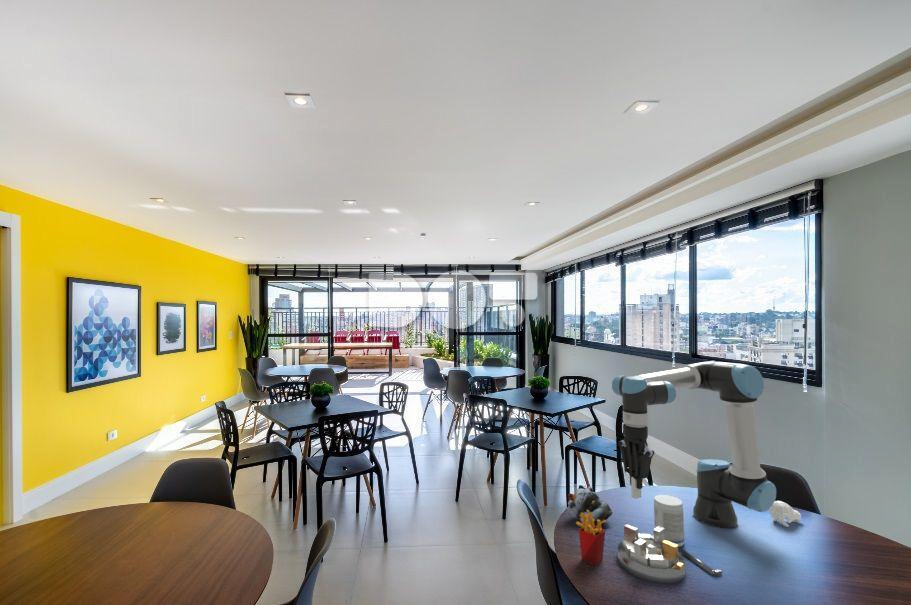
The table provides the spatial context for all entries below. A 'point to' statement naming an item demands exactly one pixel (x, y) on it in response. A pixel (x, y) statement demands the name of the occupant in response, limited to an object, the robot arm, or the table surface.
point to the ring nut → (638, 548)
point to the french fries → (591, 539)
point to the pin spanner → (702, 564)
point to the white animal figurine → (784, 513)
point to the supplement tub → (670, 518)
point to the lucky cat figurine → (588, 504)
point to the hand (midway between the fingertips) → (636, 497)
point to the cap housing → (646, 571)
